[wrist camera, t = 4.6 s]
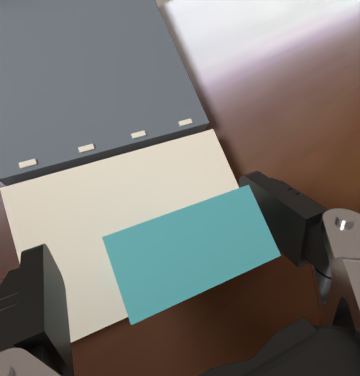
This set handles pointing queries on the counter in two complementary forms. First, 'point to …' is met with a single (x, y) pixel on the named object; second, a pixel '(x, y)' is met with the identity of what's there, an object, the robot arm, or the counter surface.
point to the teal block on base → (141, 229)
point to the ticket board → (87, 84)
